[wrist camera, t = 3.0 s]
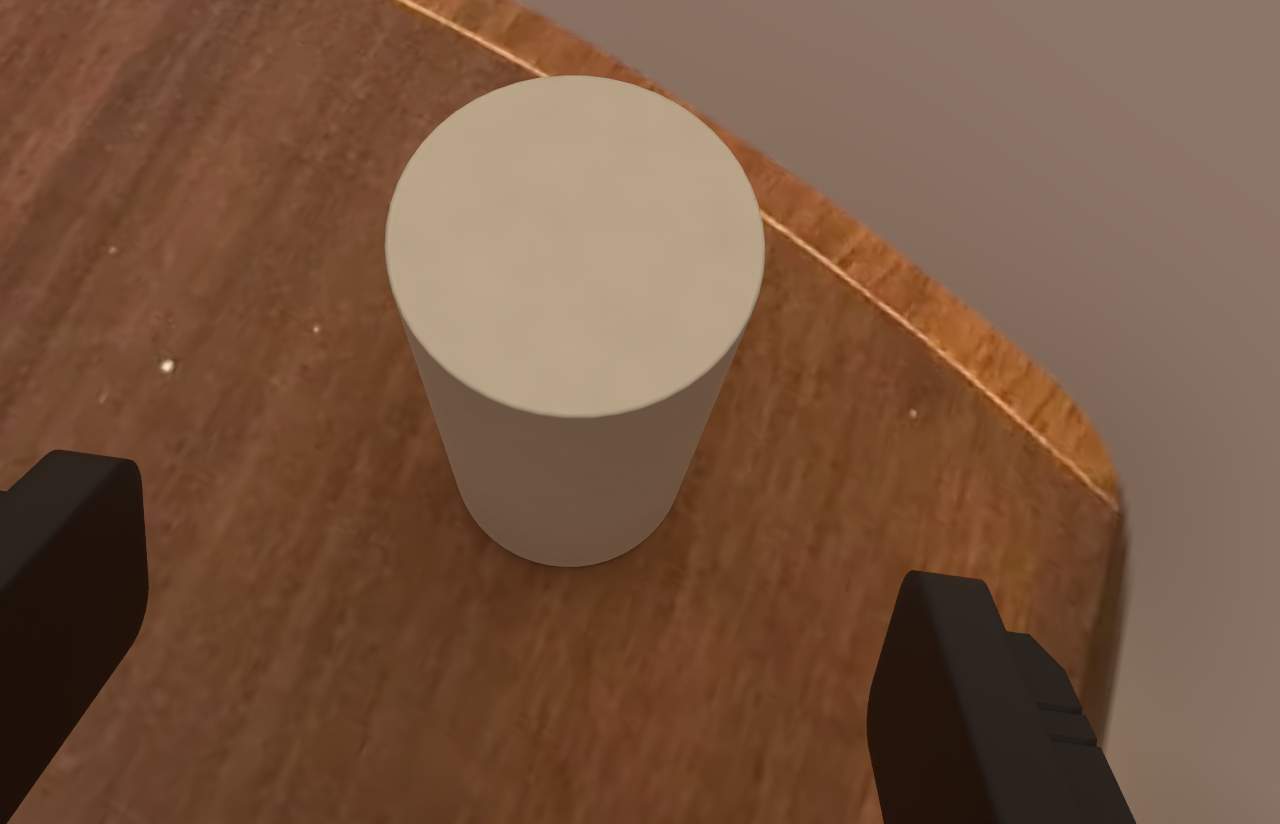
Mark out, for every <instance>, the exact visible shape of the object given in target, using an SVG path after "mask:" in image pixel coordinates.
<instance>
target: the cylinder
mask: <svg viewBox="0 0 1280 824" xmlns="http://www.w3.org/2000/svg"><path fill="white" fill-rule="evenodd" d="M385 256H386V266H387V273H388V277H389V281H390V285H391V289H392V293H393V296H394V299H395V302H396V305H397V308H398V311H399V314H400V317H401V320H402V323H403V326H404V329H405V332H406V335H407V338H408V341H409V344H410V347H411V350H412V353H413V356H414V359H415V362H416V364H417V367H418V370H419V373H420V376H421V379H422V382H423V385H424V388H425V391H426V394H427V397H428V400H429V403H430V406H431V409H432V412H433V415H434V418H435V421H436V424H437V427H438V430H439V433H440V436H441V439H442V441H443V444H444V447H445V450H446V453H447V456H448V459H449V462H450V465H451V468H452V471H453V474H454V477H455V480H456V483H457V486H458V489H459V491H460V494H461V496H462V499H463V501H464V504H465V505H466V507H467V509H468V511H469V512H470V514H471V516H472V517H473V519H474V520H475V521H476V522H477V524H478V525H479V526H480V528H481V529H482V530H483V531H484V532H485V533H486V534H487V535H488V536H489V537H490V538H491V539H493V540H494V541H495V542H497V543H498V544H499V545H501V546H502V547H503V548H505V549H507V550H508V551H510V552H512V553H514V554H516V555H517V556H520V557H522V558H525V559H527V560H530V561H533V562H536V563H540V564H544V565H550V566H558V567H581V566H588V565H594V564H598V563H601V562H605V561H608V560H611V559H613V558H616V557H618V556H620V555H623V554H624V553H626V552H628V551H629V550H631V549H633V548H634V547H636V546H637V545H639V544H640V543H641V542H642V541H644V540H645V539H646V538H648V537H649V536H650V535H651V534H652V533H653V531H654V530H655V529H656V528H657V527H658V526H659V525H660V524H661V522H662V521H663V520H664V518H665V517H666V516H667V514H668V512H669V510H670V509H671V507H672V505H673V503H674V501H675V499H676V496H677V494H678V492H679V489H680V487H681V484H682V482H683V479H684V477H685V475H686V472H687V470H688V467H689V465H690V462H691V460H692V458H693V455H694V453H695V450H696V448H697V446H698V443H699V441H700V438H701V436H702V433H703V431H704V429H705V426H706V424H707V421H708V419H709V416H710V414H711V412H712V409H713V407H714V404H715V402H716V399H717V397H718V395H719V392H720V390H721V387H722V385H723V382H724V380H725V378H726V375H727V373H728V370H729V368H730V366H731V363H732V361H733V358H734V356H735V353H736V351H737V349H738V346H739V344H740V341H741V339H742V336H743V334H744V332H745V329H746V327H747V324H748V322H749V319H750V317H751V314H752V312H753V309H754V307H755V304H756V301H757V299H758V296H759V292H760V288H761V283H762V279H763V275H764V264H765V237H764V227H763V222H762V218H761V213H760V208H759V205H758V202H757V200H756V197H755V194H754V191H753V189H752V186H751V184H750V182H749V180H748V178H747V176H746V175H745V173H744V171H743V169H742V167H741V165H740V164H739V162H738V161H737V160H736V158H735V157H734V155H733V154H732V152H731V151H730V150H729V148H728V147H727V146H726V145H725V144H724V143H723V141H722V140H721V139H720V138H719V137H718V136H717V135H716V134H715V133H714V132H713V131H712V130H711V129H710V128H709V127H708V126H707V125H705V124H704V123H703V122H702V121H701V120H700V119H698V118H697V117H696V116H695V115H693V114H692V113H690V112H689V111H687V110H686V109H684V108H683V107H681V106H680V105H678V104H677V103H675V102H673V101H671V100H669V99H667V98H665V97H663V96H661V95H659V94H657V93H655V92H652V91H650V90H647V89H644V88H642V87H639V86H636V85H633V84H629V83H625V82H621V81H617V80H613V79H607V78H600V77H592V76H567V75H564V76H553V77H542V78H537V79H532V80H527V81H522V82H518V83H515V84H512V85H509V86H506V87H503V88H500V89H497V90H494V91H492V92H490V93H488V94H486V95H484V96H482V97H479V98H477V99H475V100H473V101H472V102H470V103H469V104H467V105H466V106H464V107H462V108H461V109H459V110H458V111H456V112H455V113H453V114H452V115H451V116H450V117H449V118H447V119H446V120H445V121H444V122H442V123H441V124H440V125H439V126H438V127H437V128H436V129H435V130H434V131H433V132H432V133H431V134H430V135H429V136H428V137H427V138H426V139H425V140H424V141H423V143H422V144H421V145H420V147H419V148H418V149H417V151H416V152H415V154H414V155H413V156H412V158H411V159H410V161H409V162H408V164H407V166H406V168H405V170H404V171H403V173H402V175H401V177H400V179H399V181H398V183H397V186H396V189H395V192H394V194H393V197H392V200H391V203H390V207H389V212H388V218H387V223H386V233H385Z"/></svg>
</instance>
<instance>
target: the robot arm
mask: <svg viewBox="0 0 1280 824" xmlns="http://www.w3.org/2000/svg"><path fill="white" fill-rule="evenodd" d="M148 589H149V585H148V567H147V552H146V538H145V523H144V508H143V493H142V481H141V475H140V471H139V469H138V466H137V465H136V463H135V462H134V461H132V460H129V459H123V458H116V457H109V456H101V455H94V454H87V453H80V452H73V451H65V450H53V451H51V452H49V453H48V454H47V455H45V456H44V457H43V458H42V459H41V460H40V461H39V462H38V463H37V464H36V465H35V466H34V467H33V468H31V469H30V470H29V471H28V472H27V473H26V474H25V475H24V476H23V477H22V478H21V479H20V480H19V481H17V482H16V483H15V484H14V485H13V486H12V487H11V488H10V489H9V490H8V491H7V492H6V491H0V824H7V822H8V821H9V819H10V818H11V817H12V815H13V814H14V812H15V811H16V809H17V808H18V807H19V805H20V804H21V802H22V801H23V800H24V798H25V797H26V795H27V794H28V792H29V791H30V790H31V788H32V787H33V785H34V784H35V782H36V781H37V780H38V778H39V777H40V775H41V774H42V773H43V771H44V770H45V768H46V767H47V765H48V764H49V763H50V761H51V760H52V758H53V757H54V755H55V754H56V753H57V751H58V750H59V748H60V747H61V746H62V744H63V743H64V741H65V740H66V738H67V737H68V736H69V734H70V733H71V731H72V730H73V728H74V727H75V726H76V724H77V723H78V721H79V720H80V719H81V717H82V716H83V714H84V713H85V711H86V710H87V709H88V707H89V706H90V704H91V703H92V701H93V700H94V699H95V697H96V696H97V694H98V693H99V692H100V690H101V689H102V687H103V686H104V684H105V683H106V682H107V680H108V679H109V677H110V676H111V674H112V673H113V672H114V670H115V669H116V667H117V666H118V665H119V663H120V662H121V660H122V659H123V657H124V656H125V655H126V653H127V652H128V650H129V649H130V647H131V646H132V644H133V643H134V641H135V639H136V637H137V635H138V633H139V630H140V628H141V625H142V622H143V619H144V615H145V611H146V606H147V600H148ZM867 740H868V747H869V752H870V757H871V762H872V767H873V772H874V777H875V782H876V786H877V791H878V796H879V801H880V806H881V811H882V816H883V820H884V824H1136V822H1135V820H1134V818H1133V815H1132V813H1131V812H1130V809H1129V807H1128V805H1127V803H1126V801H1125V798H1124V796H1123V794H1122V792H1121V790H1120V788H1119V786H1118V783H1117V781H1116V779H1115V777H1114V775H1113V773H1112V771H1111V768H1110V766H1109V764H1108V762H1107V760H1106V758H1105V756H1104V753H1103V751H1102V749H1101V748H1099V747H1097V746H1096V742H1097V738H1096V736H1095V734H1094V732H1093V730H1092V728H1091V726H1090V723H1089V721H1088V719H1087V717H1086V716H1085V715H1082V706H1081V704H1080V702H1079V700H1078V698H1077V696H1076V693H1075V691H1074V689H1073V687H1072V685H1071V683H1070V681H1069V678H1068V676H1067V674H1066V672H1065V670H1064V669H1063V668H1062V667H1061V666H1060V665H1059V664H1058V663H1057V662H1056V661H1055V660H1054V659H1053V658H1052V657H1051V656H1050V655H1049V654H1048V653H1047V652H1046V651H1045V650H1044V649H1043V648H1042V647H1041V646H1040V645H1039V644H1038V643H1037V642H1036V641H1035V640H1034V639H1033V638H1032V637H1031V636H1030V635H1029V634H1022V633H1015V632H1008V631H1006V630H1005V627H1004V625H1003V622H1002V620H1001V617H1000V615H999V613H998V610H997V608H996V605H995V603H994V601H993V598H992V596H991V593H990V591H989V589H988V587H987V585H986V583H985V582H984V581H982V580H980V579H973V578H966V577H959V576H952V575H944V574H937V573H930V572H923V571H916V570H911V571H909V572H908V573H907V575H906V576H905V578H904V580H903V582H902V584H901V587H900V590H899V593H898V597H897V600H896V604H895V607H894V610H893V614H892V617H891V620H890V624H889V627H888V631H887V634H886V637H885V641H884V644H883V648H882V651H881V654H880V658H879V661H878V664H877V668H876V671H875V675H874V678H873V681H872V685H871V689H870V694H869V701H868V710H867Z"/></svg>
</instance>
